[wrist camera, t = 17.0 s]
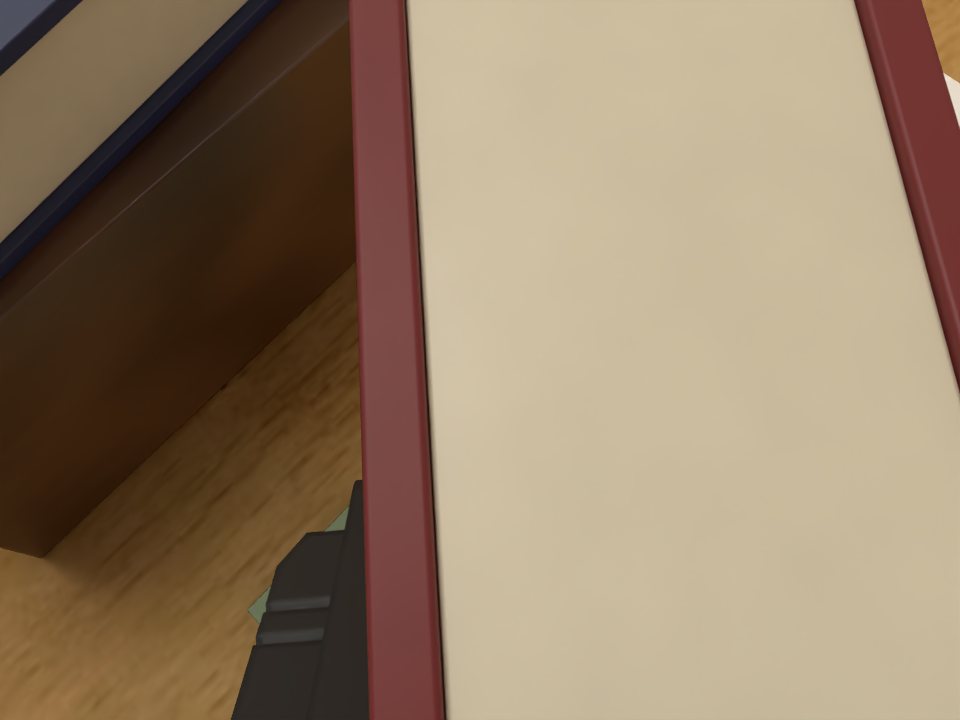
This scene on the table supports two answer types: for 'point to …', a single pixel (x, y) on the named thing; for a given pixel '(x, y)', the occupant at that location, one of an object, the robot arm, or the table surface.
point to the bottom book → (94, 93)
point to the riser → (176, 270)
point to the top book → (657, 359)
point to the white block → (954, 95)
